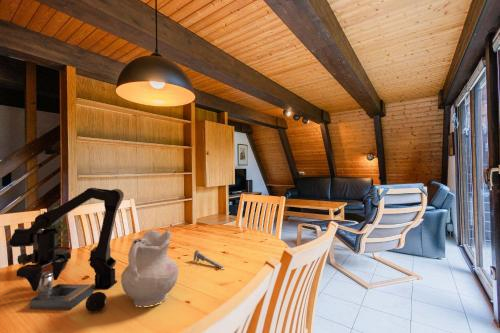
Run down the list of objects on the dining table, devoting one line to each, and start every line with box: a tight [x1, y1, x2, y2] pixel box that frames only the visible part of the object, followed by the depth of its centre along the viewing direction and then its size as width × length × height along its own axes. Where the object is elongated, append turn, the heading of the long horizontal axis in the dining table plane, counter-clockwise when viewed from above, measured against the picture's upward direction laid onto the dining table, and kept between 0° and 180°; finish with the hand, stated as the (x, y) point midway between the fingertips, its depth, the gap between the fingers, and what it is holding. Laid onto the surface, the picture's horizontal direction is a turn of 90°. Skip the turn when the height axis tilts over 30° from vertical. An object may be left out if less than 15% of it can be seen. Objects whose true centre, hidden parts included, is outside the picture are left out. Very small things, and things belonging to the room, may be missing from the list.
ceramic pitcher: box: [120, 229, 179, 308], centre depth 90 cm, size 22×20×25 cm
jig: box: [29, 283, 95, 311], centre depth 90 cm, size 14×12×3 cm
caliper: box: [193, 249, 224, 269], centre depth 124 cm, size 20×1×6 cm, turn 57°
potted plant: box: [34, 204, 72, 273], centre depth 117 cm, size 15×15×30 cm
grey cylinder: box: [37, 271, 54, 295], centre depth 96 cm, size 4×4×7 cm
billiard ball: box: [85, 291, 108, 313], centre depth 83 cm, size 6×6×6 cm
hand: (45, 285), depth 96 cm, fingers open, 9 cm apart
